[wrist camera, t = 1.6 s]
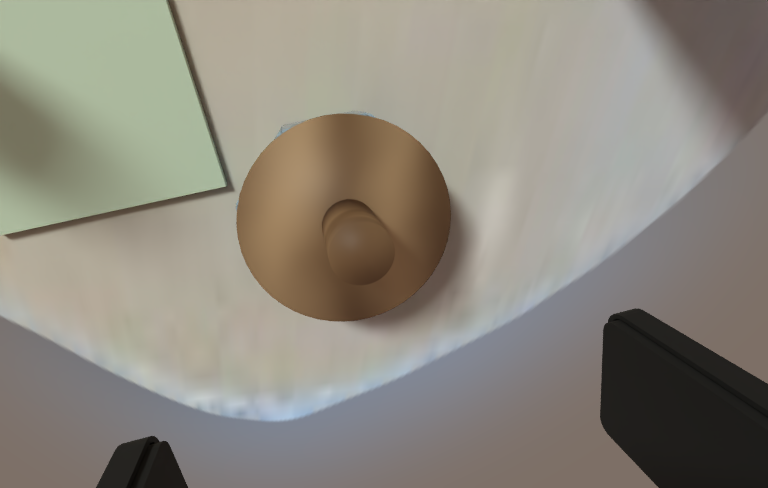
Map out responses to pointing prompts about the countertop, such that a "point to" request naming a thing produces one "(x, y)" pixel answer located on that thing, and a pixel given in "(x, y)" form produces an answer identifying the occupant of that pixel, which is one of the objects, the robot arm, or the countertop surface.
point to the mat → (96, 111)
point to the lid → (343, 217)
